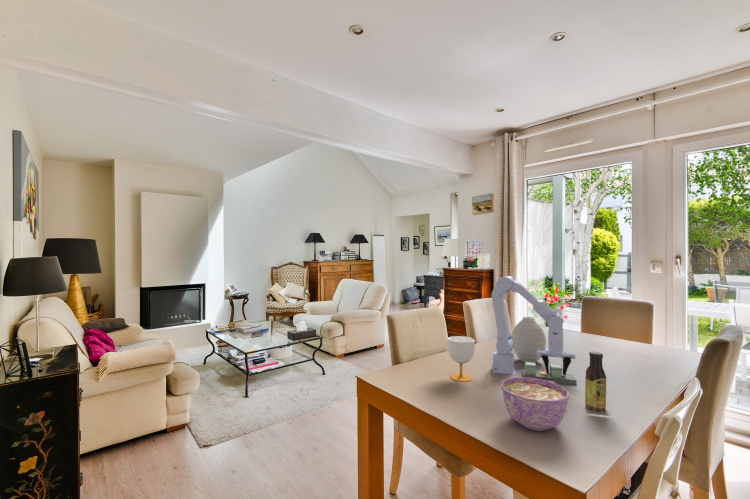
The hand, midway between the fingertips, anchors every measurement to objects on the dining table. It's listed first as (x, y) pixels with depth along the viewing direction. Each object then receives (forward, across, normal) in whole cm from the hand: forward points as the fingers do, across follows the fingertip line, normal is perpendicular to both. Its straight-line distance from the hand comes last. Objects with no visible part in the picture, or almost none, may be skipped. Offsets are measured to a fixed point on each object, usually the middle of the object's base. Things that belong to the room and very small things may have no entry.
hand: (555, 374), depth 151 cm
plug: (+2, 0, 0) cm, 3 cm away
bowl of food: (+3, -14, -44) cm, 47 cm away
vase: (+3, -8, +26) cm, 28 cm away
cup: (+3, -39, -8) cm, 40 cm away
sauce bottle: (+3, +8, -26) cm, 28 cm away
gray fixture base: (+3, -3, 0) cm, 4 cm away
